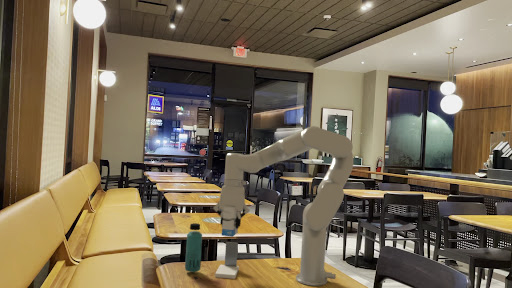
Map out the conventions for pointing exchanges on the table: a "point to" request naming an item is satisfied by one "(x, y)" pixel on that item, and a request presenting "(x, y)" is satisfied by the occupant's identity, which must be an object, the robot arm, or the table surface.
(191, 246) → the beverage bottle
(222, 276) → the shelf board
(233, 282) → the table surface
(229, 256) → the bookend
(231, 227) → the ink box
